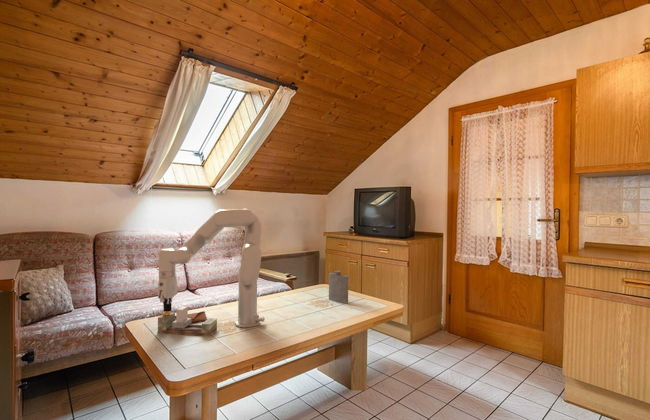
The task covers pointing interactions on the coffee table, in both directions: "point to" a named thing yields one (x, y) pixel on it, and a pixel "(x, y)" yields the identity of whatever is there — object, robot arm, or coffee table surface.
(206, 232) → the robot arm
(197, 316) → the sunglasses case
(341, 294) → the hip flask
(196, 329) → the rail bed
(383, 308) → the coffee table surface
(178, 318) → the carriage
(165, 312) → the orange block
